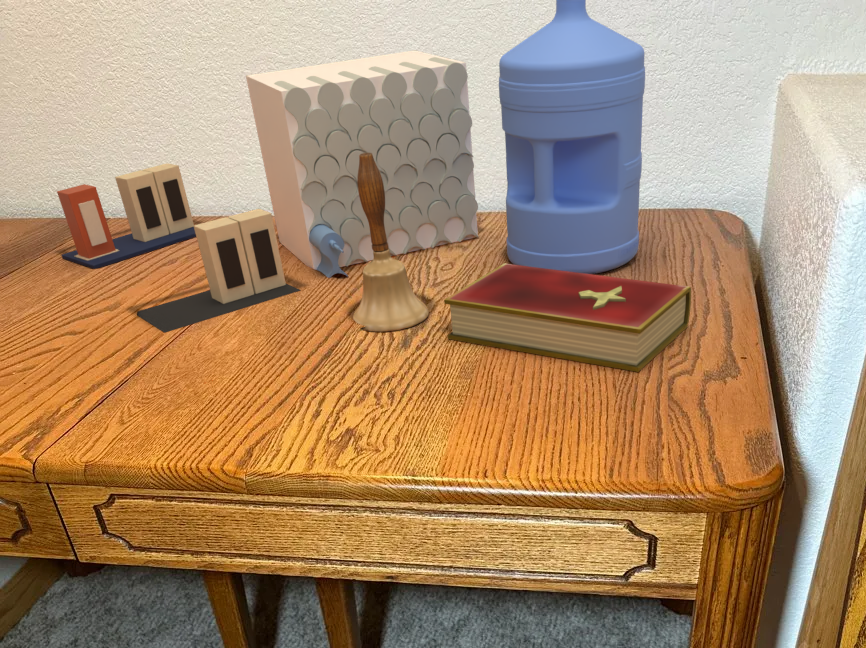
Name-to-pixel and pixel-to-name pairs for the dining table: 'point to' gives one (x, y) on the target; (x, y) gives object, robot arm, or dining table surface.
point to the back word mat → (148, 215)
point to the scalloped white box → (367, 133)
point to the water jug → (573, 144)
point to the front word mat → (229, 271)
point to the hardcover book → (570, 315)
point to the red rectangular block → (86, 220)
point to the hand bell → (383, 265)
